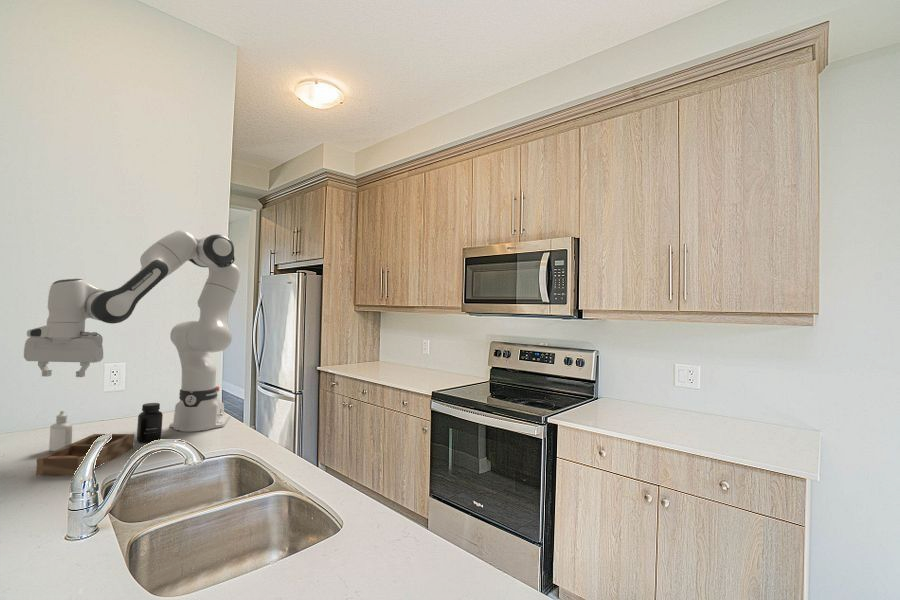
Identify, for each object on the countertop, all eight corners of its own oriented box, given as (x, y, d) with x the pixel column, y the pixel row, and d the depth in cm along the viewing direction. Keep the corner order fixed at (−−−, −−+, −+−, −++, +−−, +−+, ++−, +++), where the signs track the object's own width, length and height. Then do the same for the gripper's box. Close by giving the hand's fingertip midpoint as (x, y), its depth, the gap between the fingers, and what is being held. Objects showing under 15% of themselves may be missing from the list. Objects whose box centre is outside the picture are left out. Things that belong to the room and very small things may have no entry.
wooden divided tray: (93, 448, 135) (94, 433, 135) (133, 448, 137) (133, 433, 137) (36, 475, 114) (36, 457, 114) (83, 475, 115) (84, 457, 115)
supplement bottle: (148, 444, 141) (150, 407, 141) (131, 442, 142) (132, 405, 142) (166, 438, 148) (168, 402, 148) (149, 436, 149) (151, 401, 149)
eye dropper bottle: (54, 454, 129) (55, 413, 130) (47, 450, 132) (49, 410, 133) (72, 450, 133) (74, 411, 133) (66, 446, 136) (67, 408, 136)
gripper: (109, 331, 137) (107, 375, 137) (38, 329, 135) (35, 374, 135) (95, 333, 131) (93, 379, 131) (20, 330, 129) (18, 377, 129)
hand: (63, 376), depth 133 cm, fingers open, 8 cm apart
